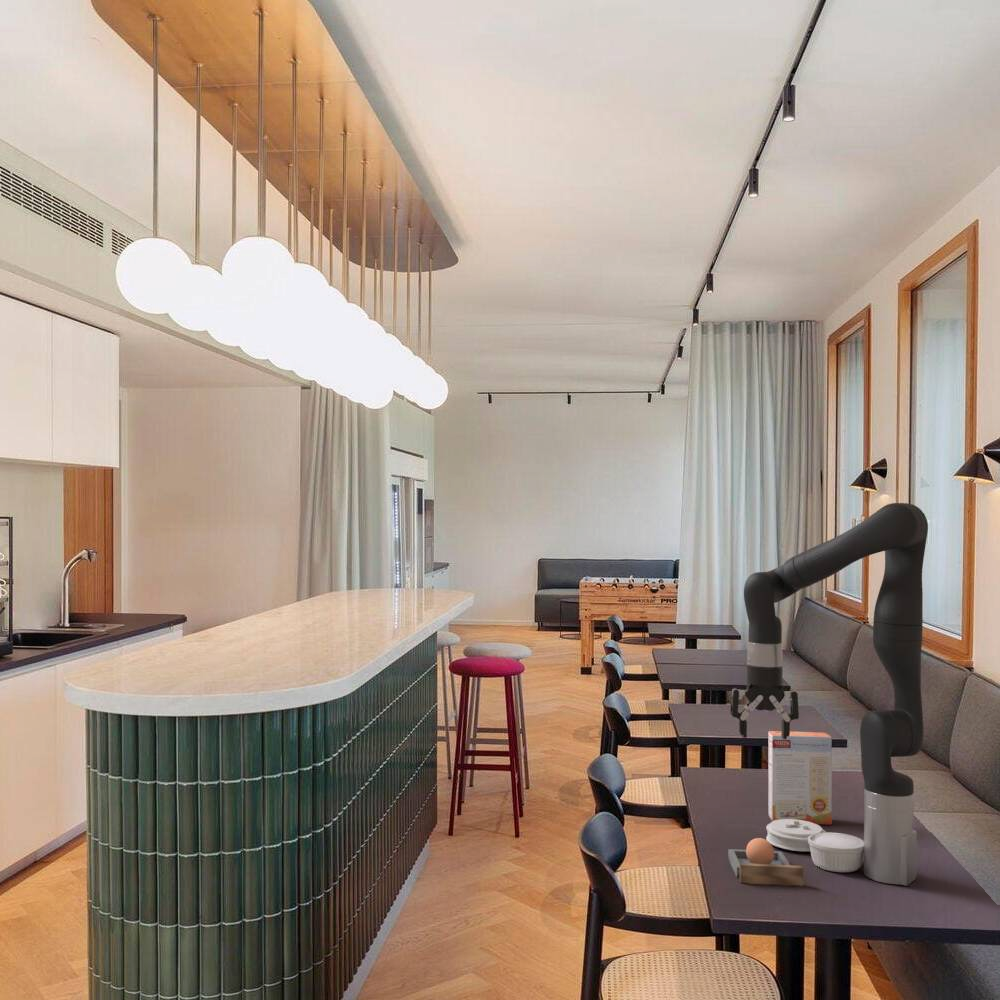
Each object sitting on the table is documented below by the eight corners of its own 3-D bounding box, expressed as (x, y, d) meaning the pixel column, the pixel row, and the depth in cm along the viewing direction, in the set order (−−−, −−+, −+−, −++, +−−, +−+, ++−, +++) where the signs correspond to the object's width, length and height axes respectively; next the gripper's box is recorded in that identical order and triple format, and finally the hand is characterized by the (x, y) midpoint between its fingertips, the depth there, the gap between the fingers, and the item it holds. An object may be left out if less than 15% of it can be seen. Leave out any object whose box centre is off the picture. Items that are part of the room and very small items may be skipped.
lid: (755, 845, 212) (755, 822, 212) (783, 833, 221) (783, 811, 221) (809, 860, 203) (809, 836, 203) (836, 846, 212) (836, 823, 212)
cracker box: (826, 818, 232) (826, 731, 233) (832, 826, 226) (833, 736, 227) (767, 815, 234) (767, 729, 234) (771, 823, 228) (772, 734, 228)
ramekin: (804, 855, 205) (804, 830, 205) (859, 858, 203) (859, 833, 204) (812, 873, 194) (812, 846, 194) (870, 876, 192) (870, 850, 192)
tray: (781, 861, 201) (781, 851, 201) (793, 880, 190) (793, 869, 190) (728, 858, 202) (728, 849, 202) (736, 877, 191) (736, 867, 191)
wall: (801, 883, 188) (801, 865, 188) (803, 886, 187) (803, 867, 187) (739, 880, 189) (739, 862, 189) (740, 883, 188) (740, 865, 188)
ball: (778, 865, 196) (779, 838, 196) (766, 873, 192) (767, 846, 192) (753, 858, 200) (753, 831, 200) (740, 866, 196) (741, 839, 196)
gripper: (794, 661, 213) (793, 735, 212) (728, 659, 214) (728, 733, 213) (802, 666, 205) (801, 742, 205) (734, 664, 206) (733, 740, 206)
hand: (763, 737), depth 209 cm, fingers open, 8 cm apart
